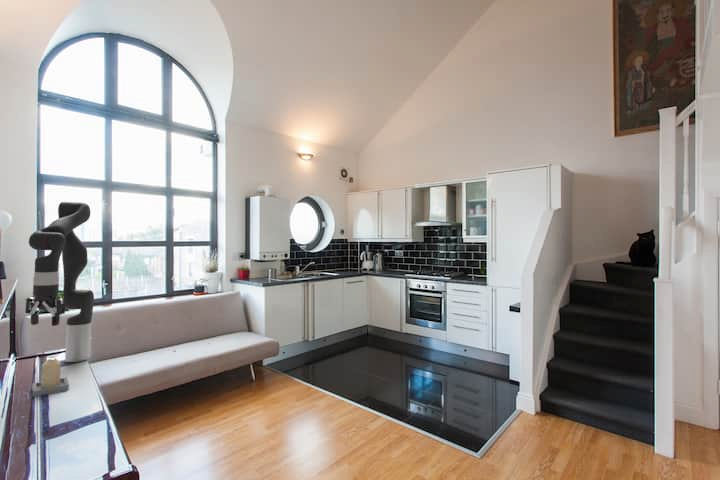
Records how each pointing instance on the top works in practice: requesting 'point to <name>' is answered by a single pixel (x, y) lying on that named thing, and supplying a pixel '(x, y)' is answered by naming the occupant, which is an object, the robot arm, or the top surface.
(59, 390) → the holder
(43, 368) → the candle
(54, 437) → the top surface
